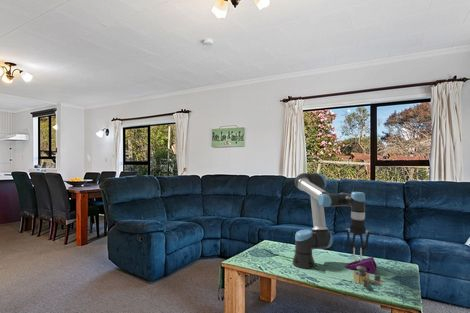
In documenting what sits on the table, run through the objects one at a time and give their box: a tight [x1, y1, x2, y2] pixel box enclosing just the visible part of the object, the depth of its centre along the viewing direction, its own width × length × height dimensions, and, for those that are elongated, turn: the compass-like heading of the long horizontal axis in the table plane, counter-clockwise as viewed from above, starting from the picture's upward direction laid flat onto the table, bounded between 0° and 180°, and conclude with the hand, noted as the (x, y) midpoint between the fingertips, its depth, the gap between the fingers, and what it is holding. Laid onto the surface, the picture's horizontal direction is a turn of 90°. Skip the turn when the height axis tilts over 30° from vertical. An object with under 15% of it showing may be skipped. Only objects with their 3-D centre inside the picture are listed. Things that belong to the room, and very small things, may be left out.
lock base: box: [356, 266, 384, 285], centre depth 169 cm, size 28×14×9 cm, turn 76°
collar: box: [353, 270, 370, 288], centre depth 165 cm, size 16×8×5 cm, turn 166°
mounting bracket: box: [345, 256, 378, 275], centre depth 186 cm, size 10×8×18 cm
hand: (357, 259), depth 162 cm, fingers open, 3 cm apart
